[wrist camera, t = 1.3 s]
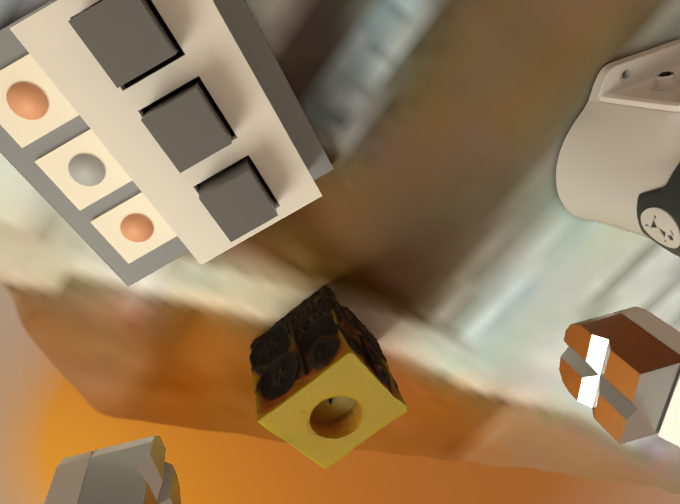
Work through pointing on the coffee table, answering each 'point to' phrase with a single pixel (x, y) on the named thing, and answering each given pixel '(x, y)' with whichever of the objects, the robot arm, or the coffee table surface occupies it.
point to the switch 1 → (125, 37)
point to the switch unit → (135, 139)
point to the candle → (323, 380)
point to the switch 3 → (238, 198)
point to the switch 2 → (188, 125)
